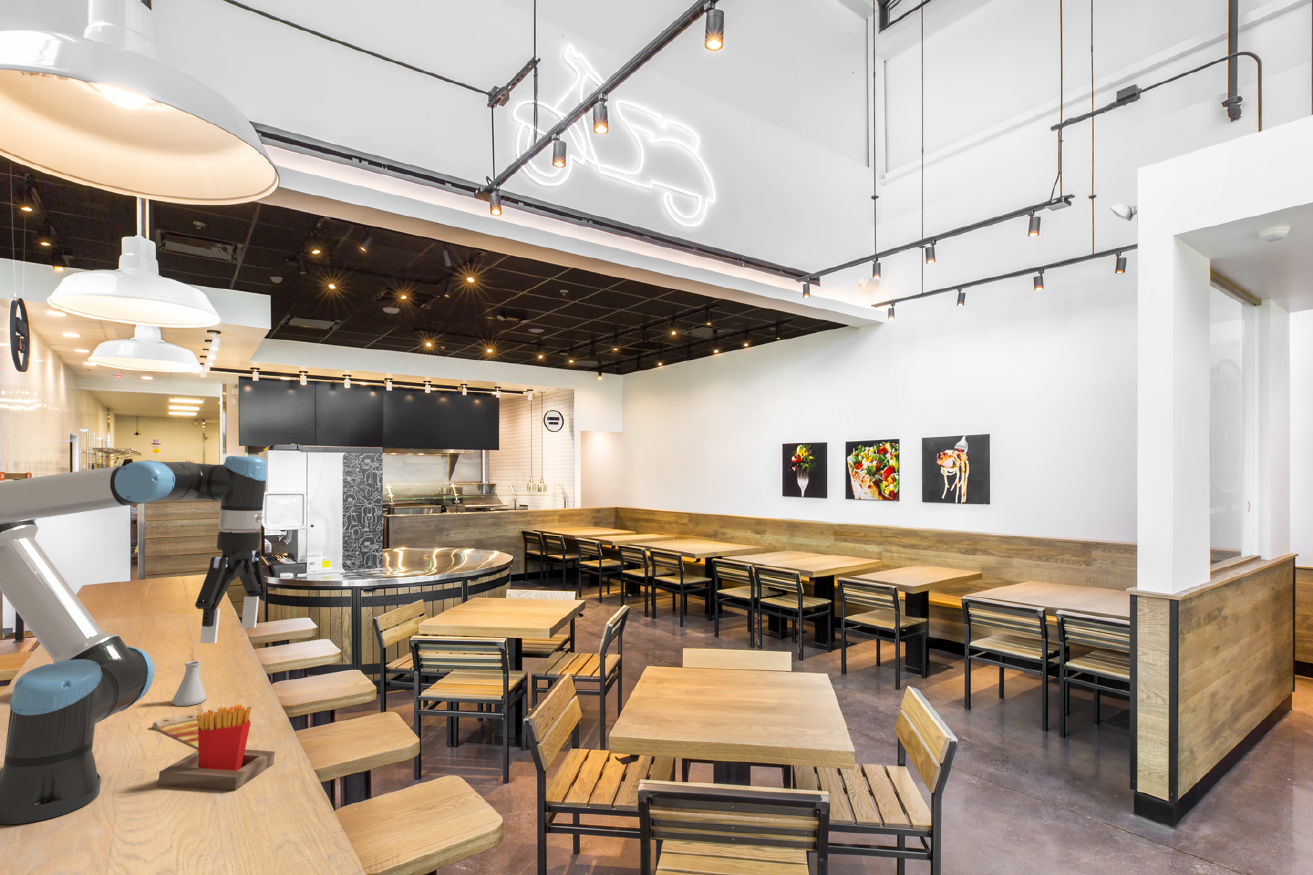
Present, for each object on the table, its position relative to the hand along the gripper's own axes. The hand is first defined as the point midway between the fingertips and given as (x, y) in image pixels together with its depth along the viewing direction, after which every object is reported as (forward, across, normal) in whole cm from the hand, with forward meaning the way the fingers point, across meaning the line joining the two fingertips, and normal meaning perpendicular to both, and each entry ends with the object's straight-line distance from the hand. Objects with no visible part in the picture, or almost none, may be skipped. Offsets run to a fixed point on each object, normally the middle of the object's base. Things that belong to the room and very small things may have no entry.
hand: (229, 634), depth 134 cm
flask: (+27, +37, +30) cm, 55 cm away
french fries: (+27, -2, -2) cm, 27 cm away
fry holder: (+27, -2, -2) cm, 27 cm away
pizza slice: (+28, +17, +18) cm, 37 cm away
